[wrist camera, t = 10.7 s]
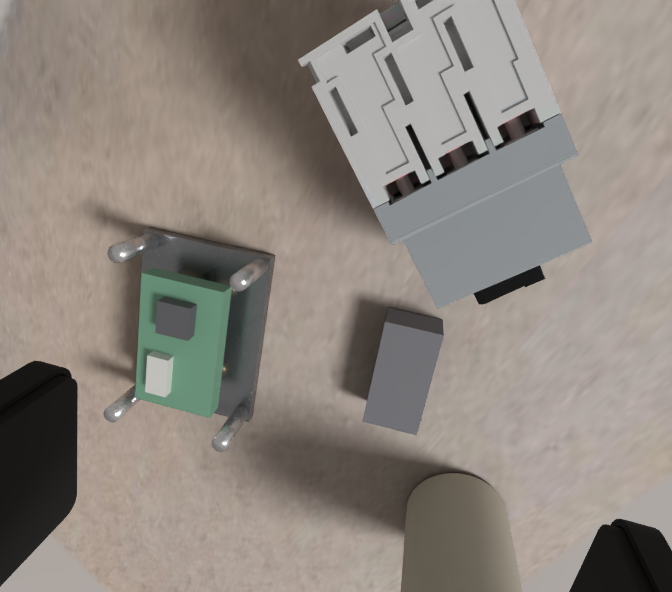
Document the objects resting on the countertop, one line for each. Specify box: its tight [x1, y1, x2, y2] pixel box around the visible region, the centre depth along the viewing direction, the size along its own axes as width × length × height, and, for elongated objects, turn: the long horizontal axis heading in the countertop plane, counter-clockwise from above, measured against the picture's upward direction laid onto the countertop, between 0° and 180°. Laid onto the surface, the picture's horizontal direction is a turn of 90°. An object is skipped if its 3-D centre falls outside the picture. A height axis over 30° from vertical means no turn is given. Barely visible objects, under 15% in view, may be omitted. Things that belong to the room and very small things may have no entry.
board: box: [135, 268, 232, 418], centre depth 36 cm, size 10×6×2 cm, turn 170°
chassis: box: [104, 228, 275, 452], centre depth 38 cm, size 14×10×6 cm
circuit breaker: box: [298, 0, 592, 309], centre depth 26 cm, size 8×14×15 cm, turn 29°
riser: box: [363, 308, 444, 435], centre depth 37 cm, size 8×4×3 cm, turn 170°
